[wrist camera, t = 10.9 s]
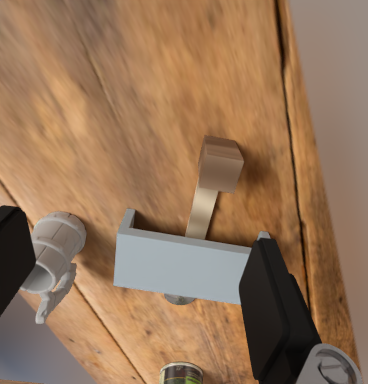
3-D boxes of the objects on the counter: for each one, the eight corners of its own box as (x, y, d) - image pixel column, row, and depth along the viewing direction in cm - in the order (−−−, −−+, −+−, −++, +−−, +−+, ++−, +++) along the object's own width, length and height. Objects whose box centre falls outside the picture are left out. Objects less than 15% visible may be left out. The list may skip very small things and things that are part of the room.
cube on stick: (204, 134, 33) (207, 154, 27) (234, 140, 33) (244, 161, 27) (178, 251, 43) (175, 285, 37) (201, 255, 43) (203, 289, 37)
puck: (168, 272, 45) (168, 280, 44) (199, 279, 46) (199, 287, 44) (162, 293, 48) (161, 301, 46) (191, 299, 49) (191, 307, 47)
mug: (80, 207, 39) (39, 265, 28) (100, 264, 45) (72, 331, 34) (32, 210, 40) (-25, 269, 29) (58, 267, 45) (18, 333, 35)
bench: (127, 208, 39) (117, 233, 34) (267, 231, 40) (279, 259, 35) (122, 257, 44) (113, 285, 38) (248, 276, 45) (256, 306, 40)
